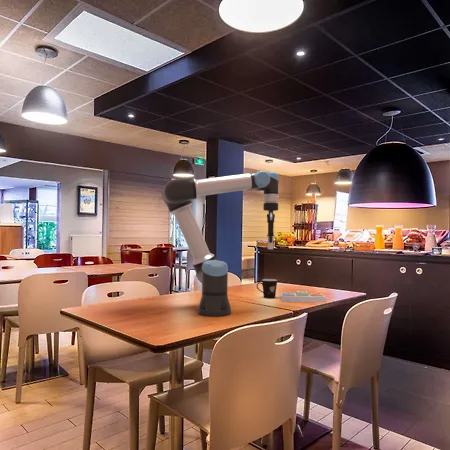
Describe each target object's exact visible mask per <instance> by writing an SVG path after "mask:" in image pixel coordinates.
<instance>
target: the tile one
mask: <svg viewBox="0 0 450 450" xmlns="http://www.w3.org/2000/svg"><path fill="white" fill-rule="evenodd" d="M281 293H282V295H283V296H295V295H294V292H281Z"/></svg>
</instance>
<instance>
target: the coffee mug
mask: <svg viewBox="0 0 450 450" xmlns="http://www.w3.org/2000/svg"><path fill="white" fill-rule="evenodd" d="M259 284H261V285H262V290H261V289H259V287H258V286H259ZM277 285H278V279H274V278H270V279H269V278H264V279H262V280H261V282H258V283H256V289H257V290H258V291H259V292H261V293H263V298H264V299H269V300H271V299H275V298H276V293H277V287H278V286H277Z"/></svg>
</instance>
